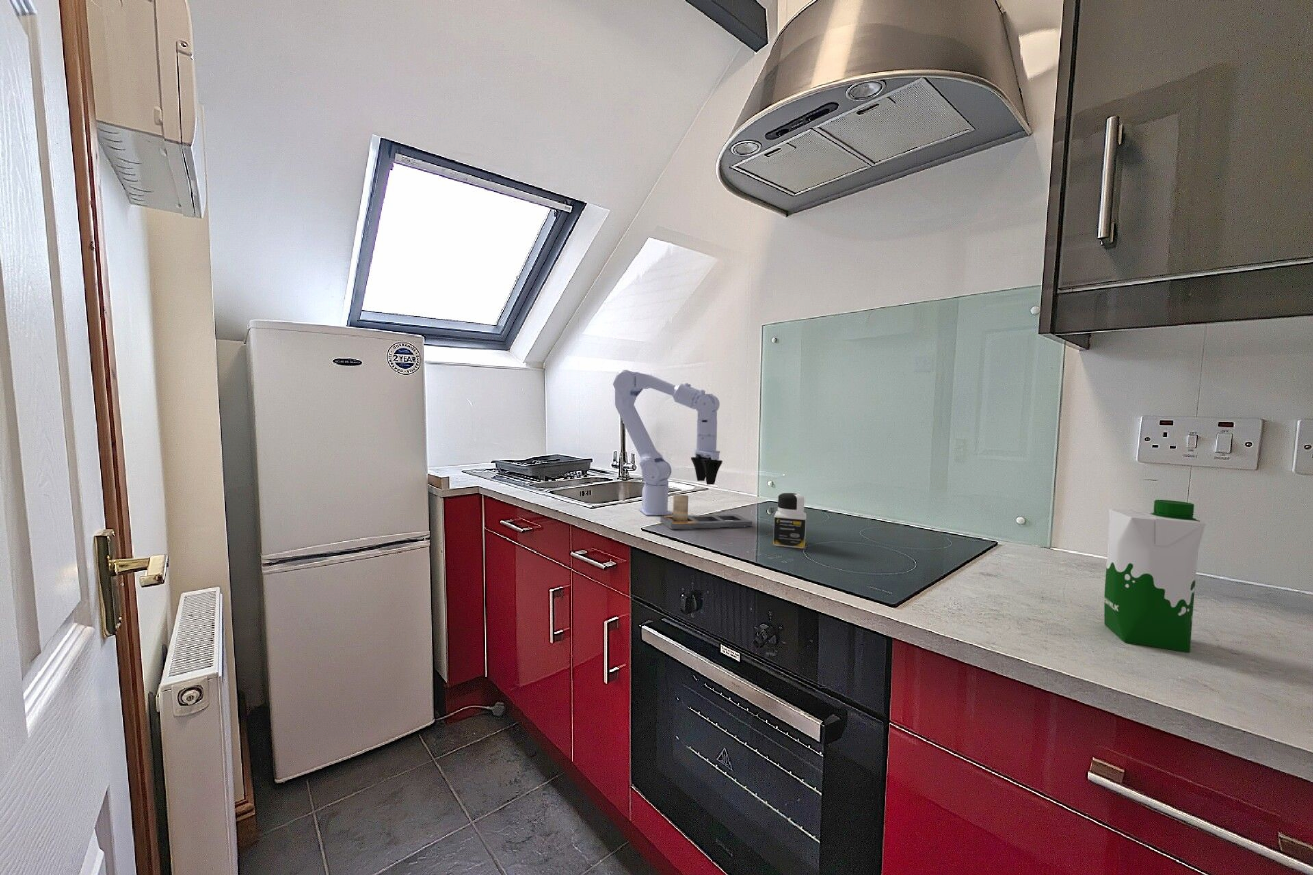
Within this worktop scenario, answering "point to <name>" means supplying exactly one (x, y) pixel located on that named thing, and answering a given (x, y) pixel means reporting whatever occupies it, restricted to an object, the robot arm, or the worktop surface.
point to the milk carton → (1152, 574)
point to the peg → (680, 508)
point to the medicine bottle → (790, 521)
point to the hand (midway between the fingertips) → (705, 482)
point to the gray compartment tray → (706, 521)
